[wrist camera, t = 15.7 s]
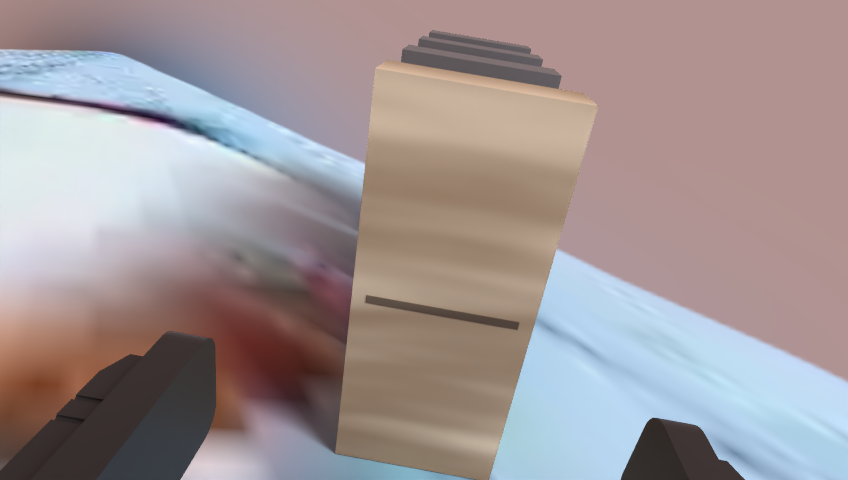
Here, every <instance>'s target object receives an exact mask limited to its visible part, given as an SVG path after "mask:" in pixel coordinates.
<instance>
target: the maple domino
mask: <svg viewBox="0 0 848 480" xmlns="http://www.w3.org/2000/svg"><path fill="white" fill-rule="evenodd" d="M597 109H598V105H596V104H595V103H594V102H593V101H592V100H591V99H589V98H588V97H587V96H585V94H583V93H579V92H573V91H567V90H562V89H556V88H550V87H544V86H538V85H532V84H526V83H520V82H514V81H509V80H503V79H497V78H491V77H485V76H479V75H473V74H467V73H461V72H455V71H449V70H444V69H438V68H432V67H426V66H420V65H414V64H408V63H402V62H396V61H390V60H388V61H386V62H384V63H383V64H381V65H380V66H378V67H377V68H375V78H374V87H373V97H372V107H371V116H370V125H369V135H368V144H367V155H366V164H365V173H364V183H363V192H362V202H361V211H360V221H359V231H358V240H357V250H356V259H355V269H354V279H353V288H352V298H351V307H350V317H349V326H348V336H347V346H346V355H345V365H344V374H343V384H342V393H341V403H340V413H339V422H338V432H337V441H336V451H335V454H341V455H346V456H352V457H357V458H362V459H368V460H373V461H379V462H384V463H389V464H395V465H400V466H405V467H411V468H416V469H422V470H427V471H432V472H438V473H443V474H449V475H454V476H459V477H465V478H470V479H476V480H489V478H490V474H491V471H492V468H493V464H494V461H495V457H496V454H497V451H498V447H499V444H500V440H501V437H502V433H503V430H504V427H505V423H506V420H507V416H508V413H509V410H510V406H511V403H512V399H513V396H514V392H515V389H516V386H517V382H518V379H519V375H520V372H521V368H522V365H523V362H524V358H525V355H526V351H527V348H528V345H529V341H530V338H531V334H532V331H533V327H534V324H535V321H536V317H537V314H538V310H539V307H540V304H541V300H542V297H543V293H544V290H545V286H546V283H547V280H548V276H549V273H550V269H551V266H552V263H553V259H554V256H555V252H556V249H557V245H558V242H559V238H560V235H561V232H562V228H563V225H564V222H565V218H566V215H567V211H568V208H569V204H570V201H571V198H572V194H573V191H574V187H575V184H576V180H577V177H578V174H579V170H580V167H581V163H582V160H583V157H584V153H585V150H586V146H587V143H588V139H589V136H590V133H591V129H592V126H593V122H594V119H595V115H596V112H597Z"/></svg>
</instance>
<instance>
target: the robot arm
mask: <svg viewBox="0 0 848 480" xmlns="http://www.w3.org/2000/svg"><path fill="white" fill-rule="evenodd" d="M215 408H216V366H215V344H214V341H213V340H212V339H211V338H206V337H200V336H195V335H189V334H184V333H178V332H173V331H169V332H167V333H165V334H164V335H163V336H162V337H161V338H160V339H159V340H158V341H157V342H156V343H155V344H154V345H153V346H152V348H151V349H150V350H149V351H148V352H147V353H146V354H145V355H144V356H137V355H132V354H130V355H128V356H126V357H124V358H123V359H121V360H119V361H117V362H115V363H114V364H112V365H110V366H108V367H106V368H105V369H103V370H101V371H99V372H98V373H97V374H96V375H95V376H94V377H93V378H92V379H91V380H90V381H89V382H88V383H87V384H86V385H85V386H84V387H83V388H82V389H81V390H80V391H79V392H78V393H77V394H76V398H75V399H74V400H73V399H71V400H70V401H69V402H68V403H67V404H66V405H65V406H64V407H63V408H62V409H61V410H60V411H59V412H58V413H57V416H56V418H55V420H50V421H49V422H48V423H47V424H46V425H45V426H44V427H43V428H42V429H41V430H40V431H39V432H38V433H37V434H36V435H35V436H34V437H33V438H32V439H31V440H30V441H29V442H28V443H27V444H26V445H25V446H24V447H23V448H22V449H21V450H20V452H19V453H18V454H17V455H16V456H15V457H14V458H13V459H12V460H11V461H10V462H9V463H8V464H7V465H6V466H5V467H4V468H3V469H2V470H1V471H0V480H180V479H181V478H182V476H183V474H184V473H185V471H186V469H187V468H188V466H189V464H190V463H191V461H192V459H193V458H194V456H195V454H196V453H197V451H198V449H199V448H200V446H201V444H202V443H203V441H204V439H205V438H206V436H207V434H208V432H209V429H210V427H211V424H212V421H213V417H214V413H215ZM621 480H745V479H744V478H743V477H742V476H741V475H740V474H739V473H738V472H737V471H736V470H735V469H734V468H733V467H732V466H731V465H730V464H729V463H728V462H727V461H723V460H719V459H718V457H717V456H716V454H715V452H714V450H713V448H712V447H711V445H710V443H709V441H708V439H707V437H706V436H705V434H704V432H703V431H702V430H701V428H699V427H698V426H696V425H692V424H687V423H681V422H676V421H670V420H665V419H659V418H652V419H650V420H649V421H648V422H647V424H646V425H645V427H644V429H643V432H642V434H641V436H640V438H639V440H638V442H637V444H636V446H635V449H634V451H633V453H632V455H631V457H630V459H629V461H628V464H627V466H626V468H625V470H624V472H623V474H622V477H621Z"/></svg>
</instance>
